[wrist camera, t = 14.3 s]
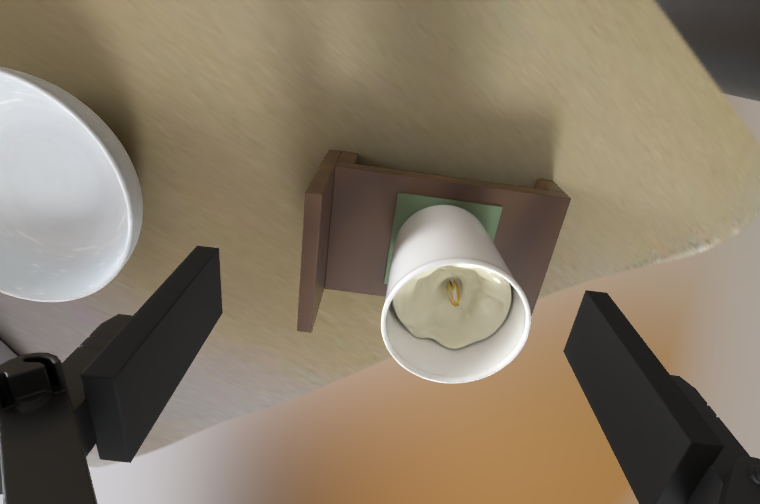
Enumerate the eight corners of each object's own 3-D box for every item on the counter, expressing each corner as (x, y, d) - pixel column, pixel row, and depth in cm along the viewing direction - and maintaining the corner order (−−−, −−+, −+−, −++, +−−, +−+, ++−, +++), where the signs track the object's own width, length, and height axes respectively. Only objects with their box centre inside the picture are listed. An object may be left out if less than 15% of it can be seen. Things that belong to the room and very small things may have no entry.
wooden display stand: (553, 180, 43) (604, 232, 32) (519, 288, 48) (553, 364, 38) (329, 149, 43) (305, 191, 32) (320, 262, 48) (296, 331, 37)
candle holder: (472, 305, 43) (496, 398, 33) (373, 278, 43) (364, 365, 32) (514, 212, 39) (557, 284, 28) (404, 181, 38) (406, 243, 28)
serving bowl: (176, 96, 41) (136, 109, 35) (161, 288, 50) (128, 325, 44) (-68, 26, 39) (-156, 26, 33) (-36, 239, 48) (-100, 270, 42)
